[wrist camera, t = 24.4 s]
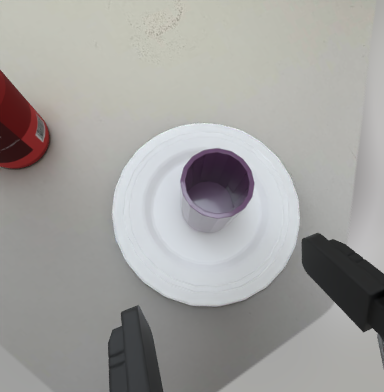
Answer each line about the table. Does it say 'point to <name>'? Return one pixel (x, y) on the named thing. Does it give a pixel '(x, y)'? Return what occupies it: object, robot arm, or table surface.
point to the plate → (198, 241)
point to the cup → (214, 189)
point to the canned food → (19, 129)
